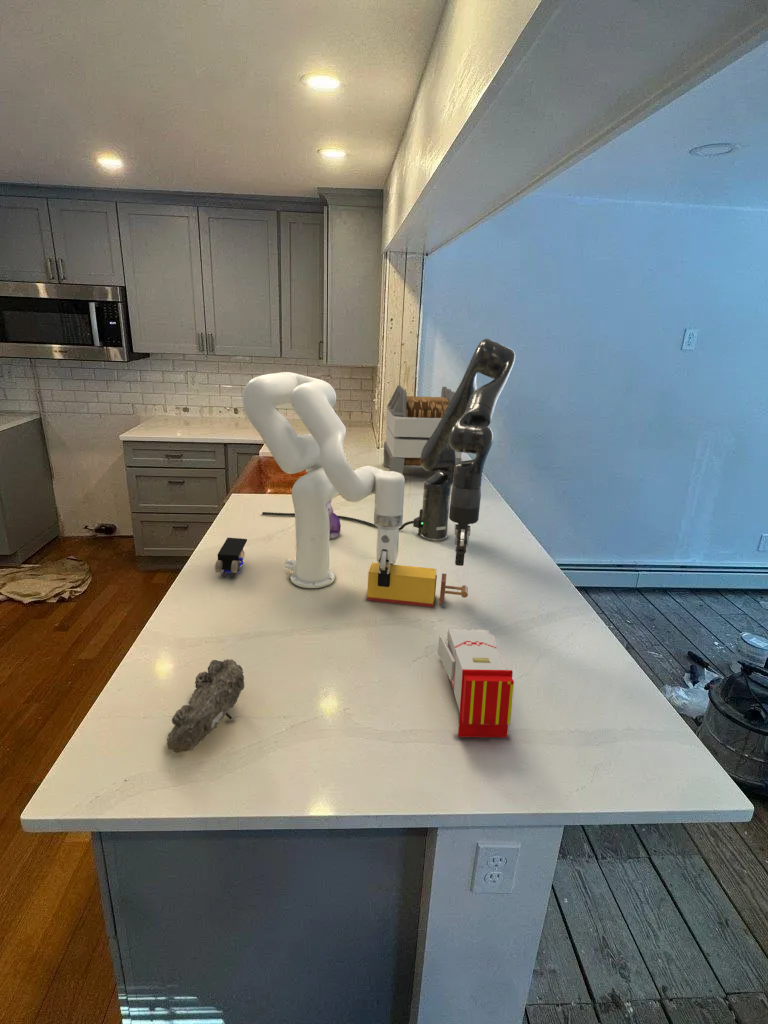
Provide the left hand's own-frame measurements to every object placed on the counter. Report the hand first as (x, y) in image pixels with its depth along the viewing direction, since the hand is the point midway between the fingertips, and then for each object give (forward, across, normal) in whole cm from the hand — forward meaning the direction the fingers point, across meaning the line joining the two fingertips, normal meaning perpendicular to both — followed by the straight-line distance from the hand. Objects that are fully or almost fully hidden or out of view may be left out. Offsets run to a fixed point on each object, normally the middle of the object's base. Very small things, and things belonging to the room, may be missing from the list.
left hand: (385, 579), depth 154 cm
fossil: (+5, -55, +26) cm, 61 cm away
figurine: (+5, +39, +25) cm, 47 cm away
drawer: (+4, 0, -11) cm, 12 cm away
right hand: (-7, 0, -19) cm, 21 cm away
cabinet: (+5, 0, -5) cm, 7 cm away
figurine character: (+5, +7, +46) cm, 47 cm away
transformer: (+5, +127, 0) cm, 127 cm away
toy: (+5, -37, -23) cm, 44 cm away
